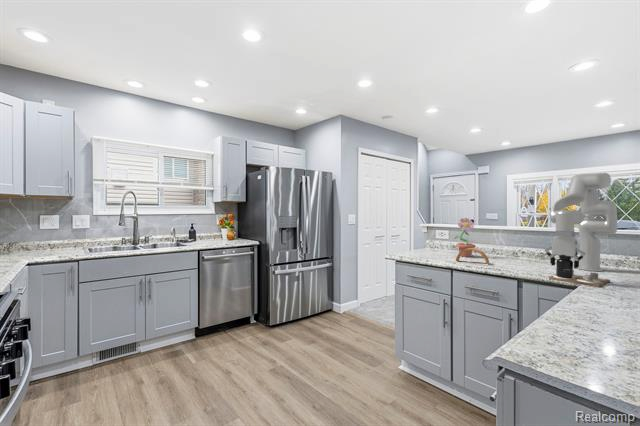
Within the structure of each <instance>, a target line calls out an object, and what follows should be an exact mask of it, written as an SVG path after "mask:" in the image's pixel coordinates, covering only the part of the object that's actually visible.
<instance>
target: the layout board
mask: <svg viewBox="0 0 640 426" xmlns="http://www.w3.org/2000/svg"><path fill="white" fill-rule="evenodd" d="M548 280H552V281H557V282H565V283H569V284H570V283H571V284H575V285H583V286H587V285H589V286H588V287H594V286H595V287H594V288H600V287H603V286H605V285H607V284H609V283H611V279H609V278H602V277H599V273H597V272H590V274H584V275H582V274H576V273H574V269H573V277H572V278H561V277H557V276H556V274H554V275H551V276H549V277H548Z"/></svg>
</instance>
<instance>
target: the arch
mask: <svg viewBox="0 0 640 426" xmlns="http://www.w3.org/2000/svg"><path fill="white" fill-rule="evenodd" d="M468 250H472V252H473V251H474V252H477V253H478V254H480V255H481V256H482V257H483V258H484V261H485V265H486V264H488V265H490V260H489V258H488V255H487V254H486V253H485V252H484V251H483V250H481V249H479V248H476V247H475V248H468V249H465V250H463V251H461V252H460V253H459V252H458V254H457V255H456V258H455V262H456V261H458V262H460V258H461V257H462V256H461V254H462V253H463V252H465V251H468Z"/></svg>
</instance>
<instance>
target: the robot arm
mask: <svg viewBox="0 0 640 426" xmlns="http://www.w3.org/2000/svg"><path fill="white" fill-rule="evenodd" d="M570 179H571V180H570V183H569V185H568V190H567V192H566V195H564V196H562V197H561V198H559V199H558V200H557V201H556V202H554V204H553V205H552V208H551V210H550V214H549V220H550V222H551V223H553V224H555V236H553V238H552V239H553V240H552V244H551V247H547V248H544V252H545V253H546V255H547V256H548V257H549V259H550V264H551V266H556V258H555V257H556V256H559V255H566V256H570V257H571V258H573V259H574V261H573V269H575V270H576V269H578V270H582V271H591V272H604V268H602V267H601V243H602V242H601V240H600V239H599V237H598V236H597V235H607V236H609V235H610V236H611V235H614V234H616V233H617V232H618V210H617V204H616V203H615V201H613V200H600V197H599V196H600V195H599V191H598V190H602V189H606V188H608V187H609V186H610V185H611V183H612V177H611V175H610V173H607V172H598V173H596V172H595V173H583V174H575V175H573V176H572V177H571V178H570ZM577 204H578V205H579V204H580V205H579V206H580V210H571V209H570V210H569V209H567V210H565V208H567V207H571V206H575V205H577ZM594 217H597V218H594ZM599 217H603V218H599ZM575 225H577V226H578V231H579V232H575ZM578 233H579V247H578V239H577V237H576V236H578ZM550 251H551V252H550ZM578 255H579V256H578Z"/></svg>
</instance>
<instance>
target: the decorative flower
mask: <svg viewBox="0 0 640 426" xmlns="http://www.w3.org/2000/svg"><path fill="white" fill-rule="evenodd" d="M457 226H458V227H459V228H460V229H461V233H460V235H457V236H455V237H454V239H459V240H460V241H462V242H457V243H456V244H455V247H457V248H458V254H459V253H460V252H461V251H463V250H465V249H468V248H476V245H475V244H474V243H469V238H463V235H464V234H465V235H466V236H469V233H468V232H467V231H471V230H472V229H474V227H475V225H474V222H473V220H470V219H469V218H468V217H465V218H463V217H462V218H460V219H459V222H458V223H457ZM472 256H473V251H472V250H468V251H465V252H463V253H462V254H461V256H460V257H463V258H471V257H472Z"/></svg>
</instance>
